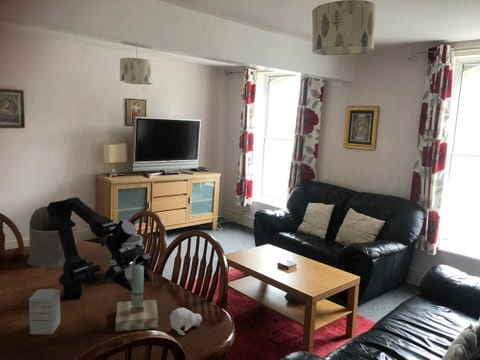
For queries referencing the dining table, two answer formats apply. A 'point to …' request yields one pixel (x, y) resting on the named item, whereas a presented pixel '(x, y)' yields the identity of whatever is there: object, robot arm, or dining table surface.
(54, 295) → the supplement box
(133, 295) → the plug
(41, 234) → the gray lidded bin
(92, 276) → the end cap
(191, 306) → the dining table surface
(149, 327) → the square hole wooden block
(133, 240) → the utensil holder
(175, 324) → the white rounded figure
